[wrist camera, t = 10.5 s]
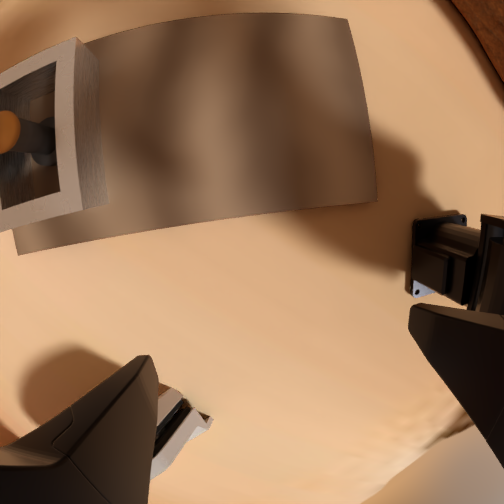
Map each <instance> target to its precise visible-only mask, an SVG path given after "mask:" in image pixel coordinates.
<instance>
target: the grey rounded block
mask: <svg viewBox="0 0 504 504" xmlns="http://www.w3.org/2000/svg"><path fill="white" fill-rule="evenodd" d="M182 397H183V395H182V394H181V393H180V392H178V391H177V390H175V389H173V388H169V389H168V390H167V391H165V392H164V393H163V394H161V395H160V396H158V420H157V428H156V435H155V442H154V450H153V458H152V466H151V474H150V480H151V479H153V478H155V477H156V476H158V475H159V474H161V473H162V472H164V471H165V470H166V469H167V468H168V467H169V466H170V465H171V464H172V462H173V461H174V459H175V458H176V456H177V455H178V454H179V452H180V451H181V449H182V448H183V446H184V445H185V443H186V442H188V441H189V440H191V439H193V438H195V437H196V436H198V435H200V434H202V433H203V432H205V431H207V430H208V429H209V428H210V426H211V424H212V422H213V420H214V419H213V418H212V417H211V416H210V417H208V418H206V419H205V420H203V418H202V417H201V416H200V414H199V413H198V411H197V410H196V409H195V407H194V408H192V409H191V410H190V409H189V408H188V407H186V408H185V409H183V410H182V411H180V412H179V413H177V414H176V415H174V414H175V412H176V411H177V410H178V409H179V407H180V406H181V405H182V404H183V401H182V400H181V398H182ZM173 415H174V416H173ZM172 416H173V418H172V419H171V417H172Z"/></svg>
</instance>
